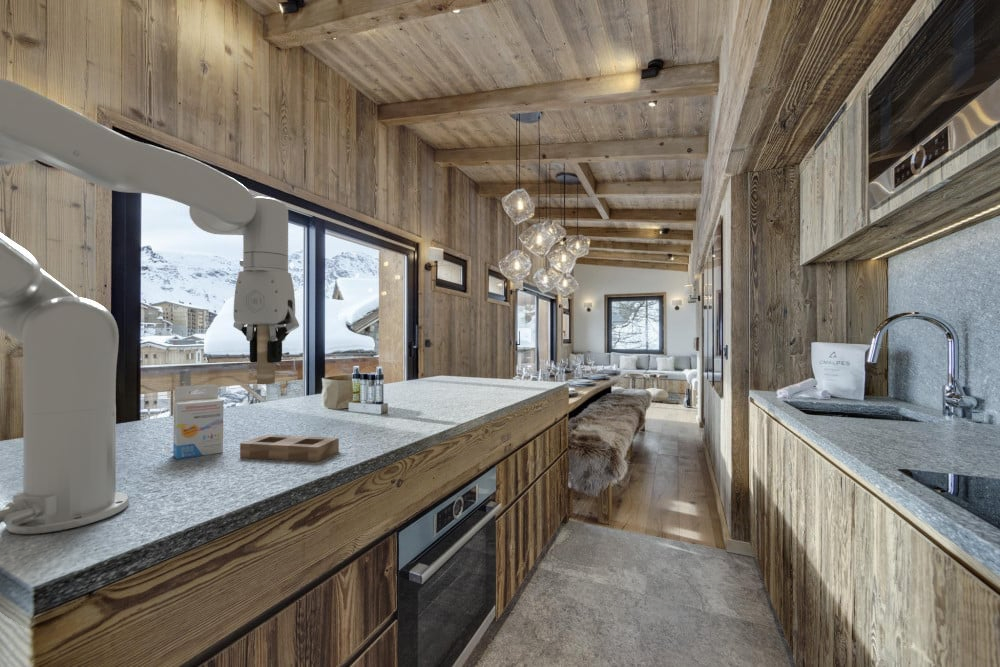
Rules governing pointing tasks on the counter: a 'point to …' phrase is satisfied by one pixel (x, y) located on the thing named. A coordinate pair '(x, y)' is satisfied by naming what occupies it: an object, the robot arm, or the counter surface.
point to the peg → (264, 356)
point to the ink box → (197, 422)
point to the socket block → (289, 448)
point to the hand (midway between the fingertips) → (265, 361)
